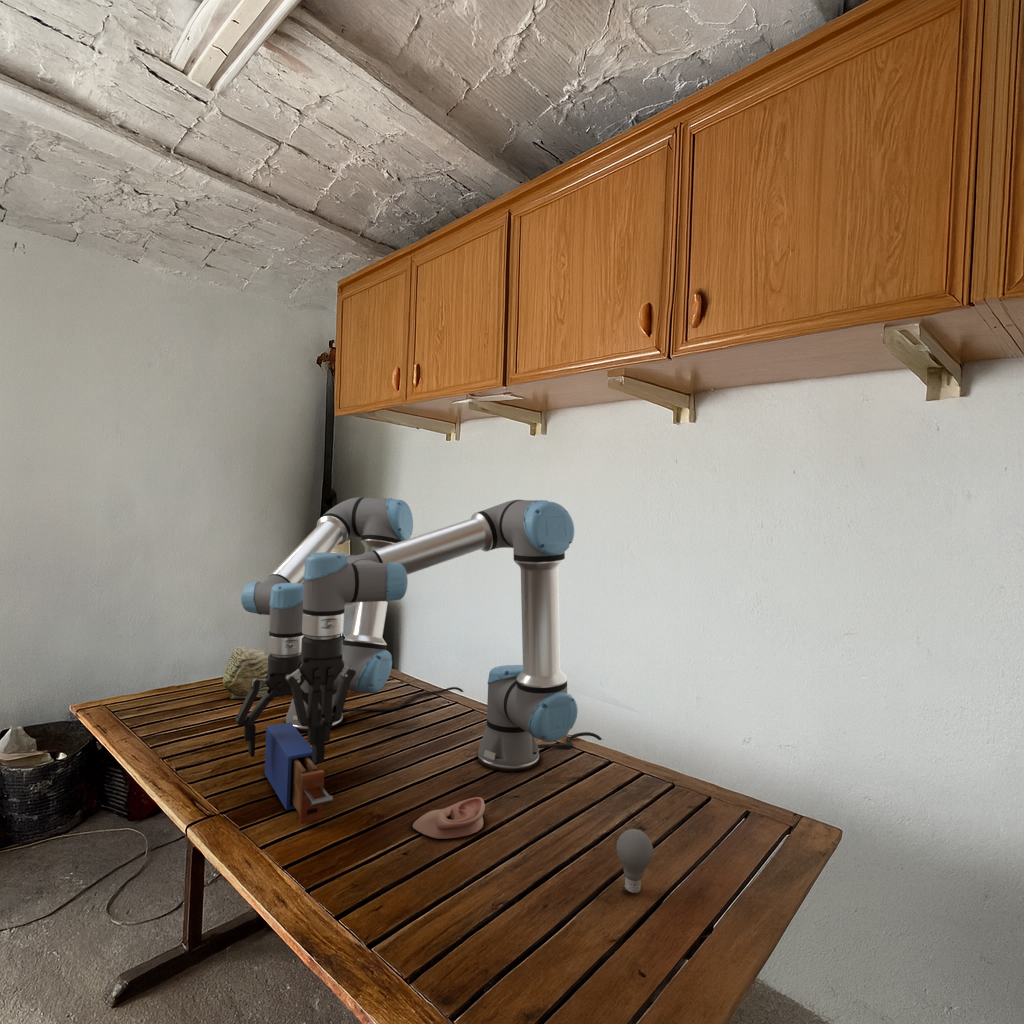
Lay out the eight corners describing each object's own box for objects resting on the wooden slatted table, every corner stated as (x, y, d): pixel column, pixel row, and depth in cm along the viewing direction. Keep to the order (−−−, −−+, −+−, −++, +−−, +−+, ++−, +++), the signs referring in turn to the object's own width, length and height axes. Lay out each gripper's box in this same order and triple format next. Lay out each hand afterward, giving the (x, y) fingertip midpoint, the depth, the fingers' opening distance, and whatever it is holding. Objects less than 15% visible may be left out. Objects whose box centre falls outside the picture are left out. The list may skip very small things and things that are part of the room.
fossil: (218, 695, 195) (220, 647, 195) (278, 685, 208) (279, 640, 207) (228, 703, 189) (230, 653, 188) (289, 692, 201) (290, 645, 201)
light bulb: (610, 879, 108) (613, 822, 108) (644, 879, 109) (647, 822, 109) (619, 902, 102) (622, 840, 102) (655, 901, 103) (658, 840, 103)
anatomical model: (407, 813, 120) (427, 787, 131) (406, 834, 120) (426, 806, 131) (475, 823, 117) (489, 796, 129) (474, 845, 117) (488, 815, 129)
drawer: (332, 833, 118) (334, 784, 118) (309, 839, 116) (311, 788, 116) (297, 781, 138) (298, 739, 138) (277, 786, 136) (279, 743, 136)
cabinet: (313, 804, 130) (315, 751, 130) (286, 810, 127) (288, 756, 127) (289, 769, 146) (290, 722, 146) (264, 774, 143) (266, 725, 143)
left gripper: (229, 663, 131) (225, 766, 131) (345, 651, 144) (342, 745, 145) (223, 655, 137) (219, 753, 137) (335, 644, 151) (331, 734, 151)
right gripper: (292, 642, 112) (287, 774, 113) (363, 636, 119) (358, 760, 120) (281, 634, 118) (277, 759, 119) (349, 628, 126) (345, 746, 126)
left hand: (282, 749), depth 141 cm, fingers open, 12 cm apart
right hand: (317, 759), depth 119 cm, fingers closed
